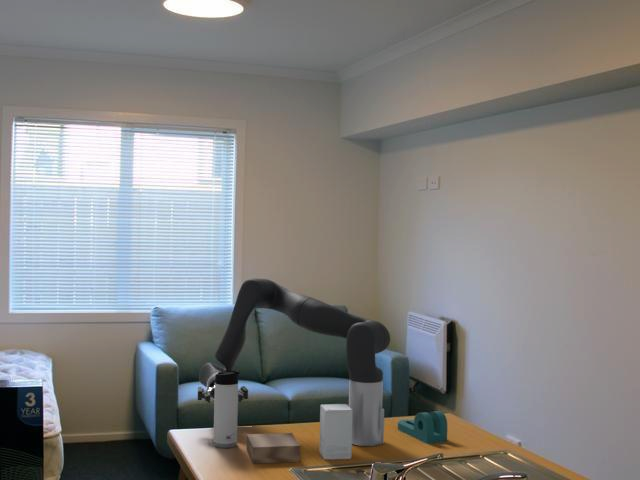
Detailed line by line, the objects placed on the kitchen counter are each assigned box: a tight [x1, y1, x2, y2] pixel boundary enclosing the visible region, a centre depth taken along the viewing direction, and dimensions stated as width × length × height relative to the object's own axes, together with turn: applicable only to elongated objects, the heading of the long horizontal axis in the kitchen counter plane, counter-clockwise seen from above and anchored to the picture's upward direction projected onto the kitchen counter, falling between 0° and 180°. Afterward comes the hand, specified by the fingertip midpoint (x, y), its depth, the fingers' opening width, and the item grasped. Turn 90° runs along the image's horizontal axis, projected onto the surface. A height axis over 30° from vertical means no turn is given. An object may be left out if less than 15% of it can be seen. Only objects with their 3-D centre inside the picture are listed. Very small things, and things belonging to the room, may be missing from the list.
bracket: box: [397, 410, 448, 445], centre depth 218 cm, size 18×7×8 cm, turn 25°
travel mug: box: [212, 370, 241, 449], centre depth 202 cm, size 6×7×20 cm
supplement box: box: [318, 403, 353, 460], centre depth 195 cm, size 7×7×13 cm
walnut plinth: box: [246, 432, 301, 464], centre depth 194 cm, size 12×12×4 cm
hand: (224, 398), depth 209 cm, fingers open, 8 cm apart
